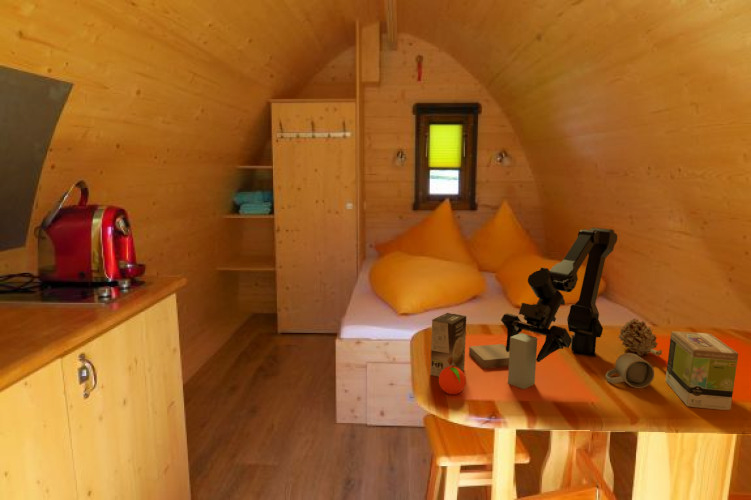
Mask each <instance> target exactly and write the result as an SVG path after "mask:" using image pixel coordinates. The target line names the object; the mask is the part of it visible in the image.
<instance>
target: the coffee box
mask: <svg viewBox="0 0 751 500" xmlns="http://www.w3.org/2000/svg"><path fill="white" fill-rule="evenodd" d="M466 331H467V316H466V315H462V314H457V313H450V312H446V313H443V314H442V315H440V316H438V317H435V318H432V319H431V346H430V376H433V377H437V378H439V375H440V373H441V371H442V370H443V369H445V368H447V367H449V366H454V367H457V368H459V369H460V370H462V372H464V370H465V359H466V358H465V357H466V356H465V355H466V335H467V333H466Z"/></svg>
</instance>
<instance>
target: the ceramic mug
mask: <svg viewBox="0 0 751 500" xmlns="http://www.w3.org/2000/svg"><path fill="white" fill-rule="evenodd" d="M614 365H615V367H614V368H611V369H609V370H608V371H607V372H606V373H605V378H606V381H607V382H608V383H611V384H620V383H623V382H625V383H626V384H627V385H628V386H630V387H632V388H635V389H643V388H646V387H648V386H650V385H651V383H652V382H653V380H654V378H655V370H654V366H653V365H652V364H651V363H650V362H648V361H647V360H646V359H644V358H642V356H640V355H637V353H634V352H632V353H631V352H625V353H623V354H620V355H619V356H618V357H617V359H616V361H615V364H614ZM615 374H618V375H619V376H616V377H612V376H614V375H615Z"/></svg>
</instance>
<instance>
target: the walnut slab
mask: <svg viewBox="0 0 751 500" xmlns="http://www.w3.org/2000/svg"><path fill="white" fill-rule="evenodd" d="M468 347H469V351H468V355H469V356H470V357H471V358H473V360H474V361H475V362H477V364H479V366H480V367H481V368H482V369H492V368H493V369H494V368H503V367H504V368H505V367H509V352H507V351H506V345H504V344H503V343H497V344H484V345H471V346H470V345H469V346H468Z"/></svg>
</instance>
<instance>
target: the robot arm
mask: <svg viewBox="0 0 751 500" xmlns="http://www.w3.org/2000/svg"><path fill="white" fill-rule="evenodd" d="M617 241H618V234H617V233H615V230H614V229H611V228H604V227H603V228H600V227H591V228H590V229H585V228H584V229H580V230H579V231H578V234H577V237H576V239H575V240H574V242H573V244H572V245H571V247H570V248H569V250H568V252H567V253H566V254H565V256H564V258H563V259H562V261H560V262H558V263H556V264H555V265H553V266H552V267H551V269H549V268H547V267H543V266H542V267H540V269H539V270H536V271H533V272H532V273H531V274H529V276H528V277H527V283H528V285H529V287H530V288H531V290H532V292H533V293H534V295H535V296H536V298H538V300H537V301H536V303H533V304H530V303H525V302H522V303H520V304H521V305H520V308H519V312H518V315H520V316H521V315H522V316H523V320H524V321H526V322H523V321H521V319H520V317H518V315H516V314H512V313H508V312H507V313H505V314H503V315H502V317H501V319H500V321H501V322H502V324H503V326H504V328H506V330H507V334H506V335H507V337H506V345H505V346H506V351H507V352H509V350H510V337H512V336H514V335H517V334H519V333H522V331H523V330H524V331H527V332H531V333H534V334H537V335H538V334H539V335H541V336H545V340H544V343H543V344H542V346H541V348H540V350H539V352H538V354H537V355H536V363H540V362H541V361H542V360H544V359H546V357H548V356H550V355H551V354H553V353H555V352H556V351H558V350H562V349H564V348H567V349H569V348H570V349H571V351H572V352H573V355H579V356H580V355H581V356H589V357H596V356H597V353H596V346H597V338H601V337H602V334H603V329H604V328H603V326H602V324H601V322H600V320H599V317H600V313H599V310H598V307H597V304H596V303H597V299H598V293H599V289H600V285H601V279H602V276H603V272H604V271H603V270H604V266H605V261H606V258H607V257H608V256H609V255H610V254H611V253H612V252H613V251H614V249H615V245H616V243H617ZM587 256H588V257H587ZM586 258H587V261H586V266H585V271H584V275H583V279H582V284H581V289H580V294H579V298H578V300H577V301H576V302H575V303H572V304H571V305H570V307H569V312H568V315H567V319H566V320H567V327H568V328H567V329H568V330H567V329H566V328H565V327H561V326H557V325H551V324H552V323H555V322H556V320H557V318H556V314H557V313H558V311H559V308H560V306H562V305H563V306H565V304H566V301H565V299H564V294H562V293H561V292H564V293H571V292H572V291H573V290H574V289H575V288H576V286H577V282H578V280H579V278H578V271H579V269H580V268H581V266H582V264H583V263H584V261H585V260H586ZM569 332H571V333H573V334H572V335H570V333H569Z"/></svg>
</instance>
